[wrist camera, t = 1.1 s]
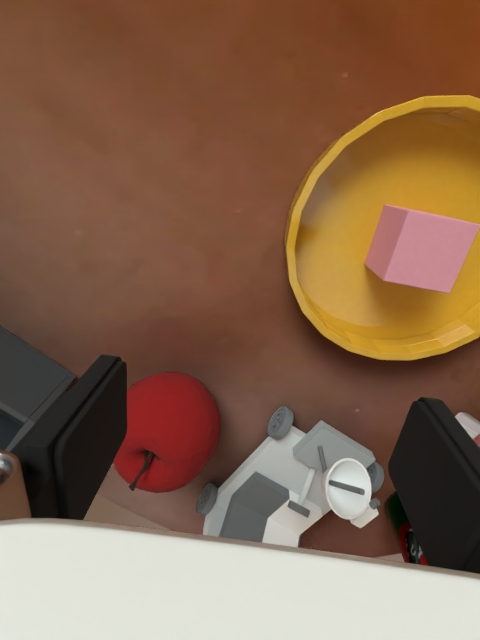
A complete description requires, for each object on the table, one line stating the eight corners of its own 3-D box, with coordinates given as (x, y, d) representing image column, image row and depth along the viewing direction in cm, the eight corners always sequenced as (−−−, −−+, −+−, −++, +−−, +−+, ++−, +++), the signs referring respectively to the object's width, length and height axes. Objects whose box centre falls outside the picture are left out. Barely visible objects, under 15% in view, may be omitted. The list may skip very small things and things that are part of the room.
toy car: (321, 466, 22) (450, 541, 24) (303, 380, 31) (398, 440, 33) (178, 595, 28) (290, 646, 30) (198, 492, 37) (283, 537, 39)
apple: (214, 444, 34) (198, 543, 25) (125, 425, 34) (75, 519, 25) (233, 367, 31) (222, 450, 22) (133, 345, 30) (79, 420, 21)
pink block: (363, 264, 26) (383, 281, 22) (384, 203, 24) (409, 210, 20) (420, 275, 26) (449, 294, 22) (444, 215, 24) (481, 224, 20)
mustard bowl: (237, 251, 27) (234, 261, 24) (421, 35, 21) (446, 15, 18) (385, 378, 30) (398, 399, 28) (576, 226, 25) (616, 233, 22)
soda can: (382, 518, 37) (433, 663, 26) (385, 484, 35) (442, 626, 24) (430, 517, 37) (503, 664, 26) (436, 483, 35) (518, 626, 24)
